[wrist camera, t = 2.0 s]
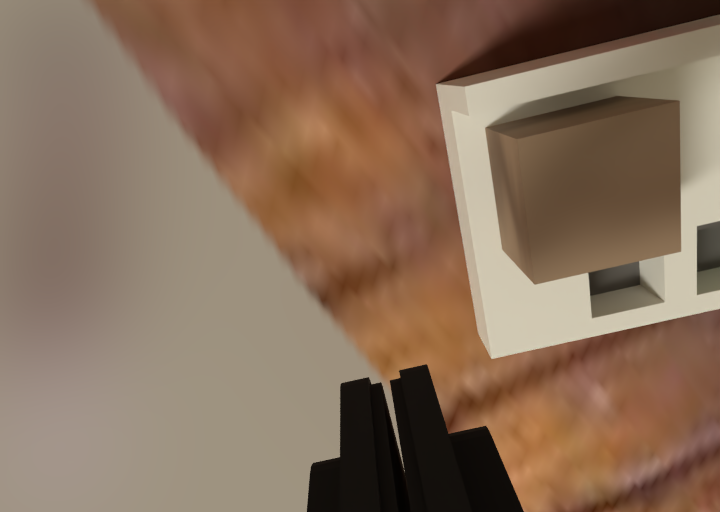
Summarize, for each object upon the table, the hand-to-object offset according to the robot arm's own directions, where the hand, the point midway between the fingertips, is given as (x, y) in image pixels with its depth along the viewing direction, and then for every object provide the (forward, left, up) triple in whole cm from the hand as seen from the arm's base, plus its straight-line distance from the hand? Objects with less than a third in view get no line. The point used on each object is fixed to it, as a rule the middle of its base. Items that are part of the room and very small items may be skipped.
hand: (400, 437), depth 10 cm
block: (0, +9, -13) cm, 16 cm away
